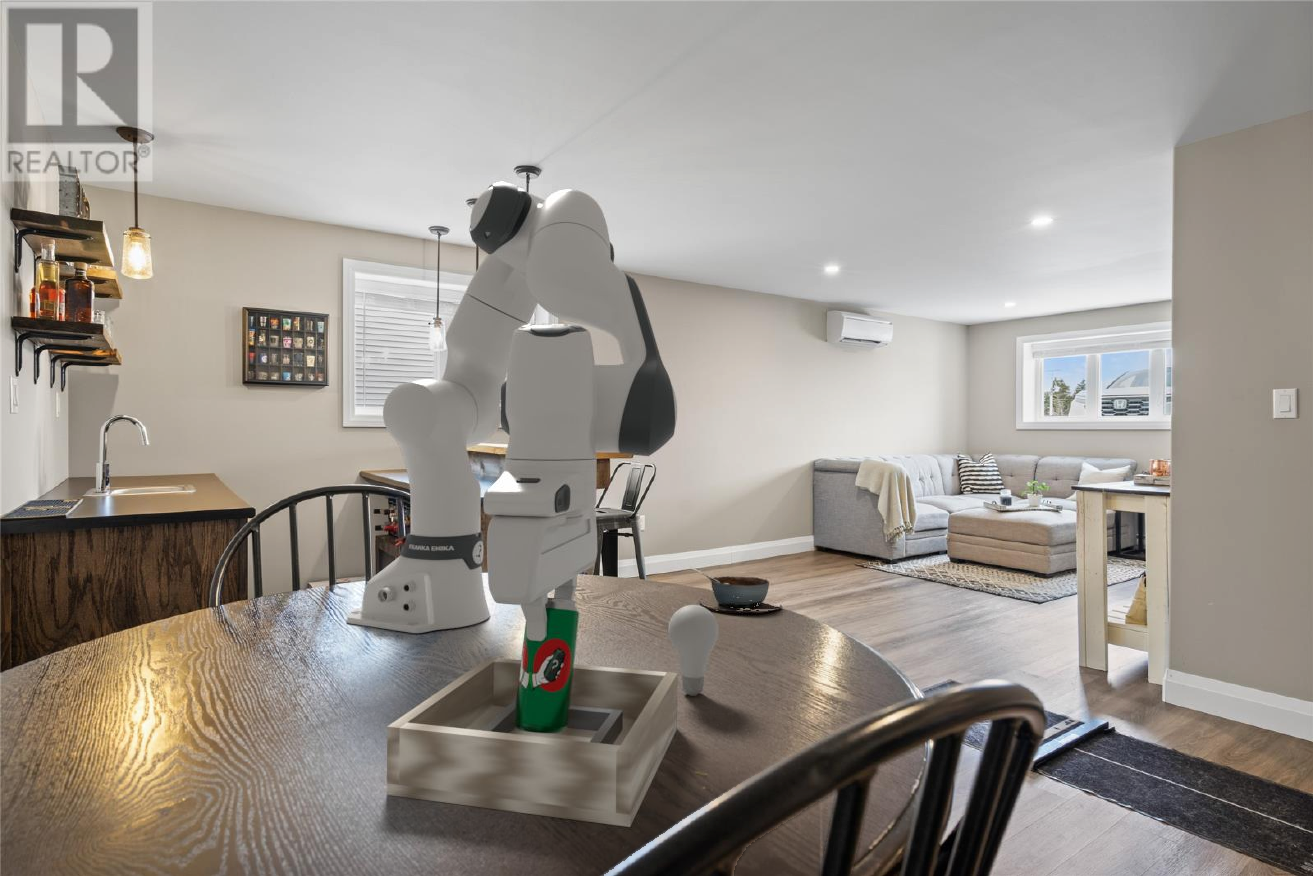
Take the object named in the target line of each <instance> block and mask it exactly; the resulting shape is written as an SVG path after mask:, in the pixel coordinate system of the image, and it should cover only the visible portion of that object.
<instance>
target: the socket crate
mask: <svg viewBox="0 0 1313 876" xmlns="http://www.w3.org/2000/svg"><path fill="white" fill-rule="evenodd" d="M520 666H521V659H513V658H512V659H511V658H502V657H487V658H485V659H483V661H481V662H479V663H478V664H476V665H475V666H473V667H472V668H471V669H469V670H467V672H465V673H463V674H462V675H461V676H459V677H458V678H456V679H455V680H454V681H452V682H451V683H449V684H447V685H446V686H445V687H443V688H442V689H440V690H439V691H437V692H436V693H434V694H432V695H431V696H430V697H428V698H426V699H425V700H424V701H422V702H421V703H420V704H418V705H417V706H415V707H414V708H412V709H411V710H409V711H408V712H406V713H405V714H403V715H402V716H400V717H399V718H398V719H396V720H395V721H393V722H392V723H390V724H388V725H387V726H386V730H387V731H386V795H387V796H391V797H392V796H393V797H401V798H409V799H418V800H423V801H431V802H436V803H437V802H439V803H446V804H453V805H462V806H468V807H476V808H483V809H484V808H485V809H490V810H491V809H492V810H497V811H506V812H512V813H513V812H514V813H521V814H529V815H537V816H544V817H551V818H559V819H565V820H566V819H568V820H575V821H582V822H590V823H596V824H604V825H605V824H606V825H612V826H618V827H626V828H627V827H628V828H631V826H632V824H633V822H634V819H635V818H636V815H637V813H638V811H639V810H640V807H641V805H642V803H643V800H644V799H645V796H646V794H647V792H648V790H649V788H650V786H651V784H652V781H653V780H654V778H655V775H656V773H657V771H658V769H659V767H660V765H661V763H662V761H663V758H664V757H665V755H666V752H667V750H668V748H669V746H670V744H671V742H672V741H673V738H674V736H675V734H676V732H677V729H678V678H679V677H678V676H679V675H678V672H670V671H668V672H666V671H658V670H657V671H656V670H647V669H646V670H644V669H634V668H633V669H632V668H621V667H608V666H597V665H596V666H595V665H585V664H574V672H573V681H572V691H571V701H570V711H569V721H568V726H567V727H566V729H565V730H564V731H563V732H561V733H534V732H526V731H521V730H519V729H517V727H516V726H515V724H514V715H515V707H516V699H517V690H518V682H519V674H520Z"/></svg>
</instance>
